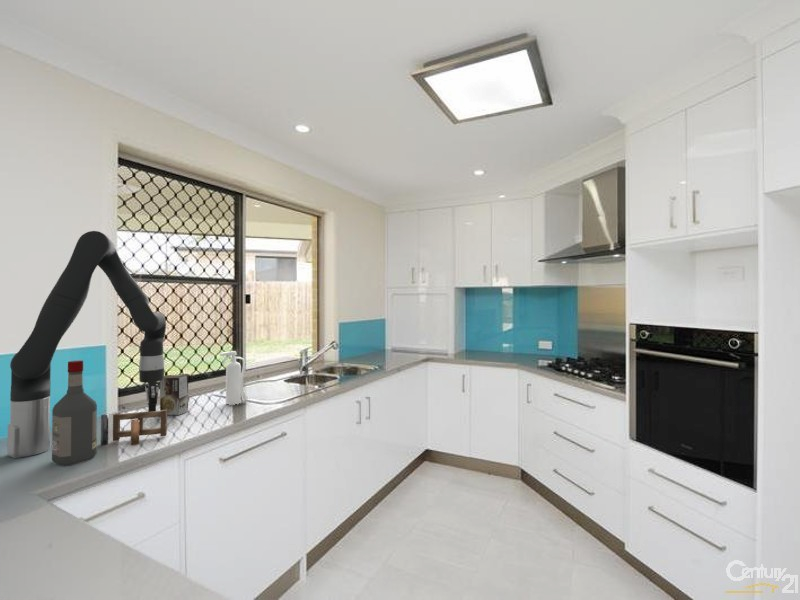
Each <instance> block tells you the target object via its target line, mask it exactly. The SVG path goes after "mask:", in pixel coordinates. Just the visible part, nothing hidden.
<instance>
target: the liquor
mask: <svg viewBox="0 0 800 600" xmlns="http://www.w3.org/2000/svg"><path fill="white" fill-rule="evenodd" d="M83 371H84V360H71V361H67V373H68V374H67V375H68V377H67V378H68V379H67V390H66V393H65V395H63V397H61V399H59V400H58V401H57V402H56V404H54V406H53V407H52V410H51V413H52V414H51V415H52V416H51V418H52V419H51V421H52V422H51V424H52V425H51V429H52V430H51V432H52V433H51V460H52V462H53V463H54V464H56V465H58V466H60V467H65V466H66V467H68V466H73V465H76V464H80V463H83V462H86V461H90V460H92V459H93V458H94V457H95V456H96V454H97V451H98V450H97V446H98V445H97V441H98V440H97V439H98V438H97V433H98V431H97V427H98V422H97V421H98V405H97V404H98V403H97V402H96V400H95V399H93V397H91V396H89V395H88V394H87V393H86V392H85V390H84V386H83V384H84V381H83V379H84V378H83V373H84V372H83Z"/></svg>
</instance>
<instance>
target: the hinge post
mask: <svg viewBox="0 0 800 600" xmlns="http://www.w3.org/2000/svg"><path fill="white" fill-rule="evenodd" d="M108 444H109V413H102V414H101V415H100V446H106V445H108Z"/></svg>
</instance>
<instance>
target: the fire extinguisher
mask: <svg viewBox="0 0 800 600" xmlns="http://www.w3.org/2000/svg"><path fill="white" fill-rule="evenodd" d="M237 355H238V354H237V351H236V350H233V351H232V350H231V351H225V352H221V353H219V356H226V357H224V359H223V360H222V362H221V365H223V366H225V363H226V361H227V360H228V359H229V358H230V357H231V360H230V362H228V363H227V364H226V366H225V405H226V404H229V405H228V406H236V405H235V404H237V405H239V403H240V404H241V403H242V402H245V401H248V400H249V399H250V397H249V395H248V394H247V391H245V389H244V376H245V367H246V362H245V361H246V360H245V358H244V357H242V356H237ZM238 359H239V360H241V361H242V365H241V363H240V362H238V361H237V360H238ZM241 400H242V401H241Z"/></svg>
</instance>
